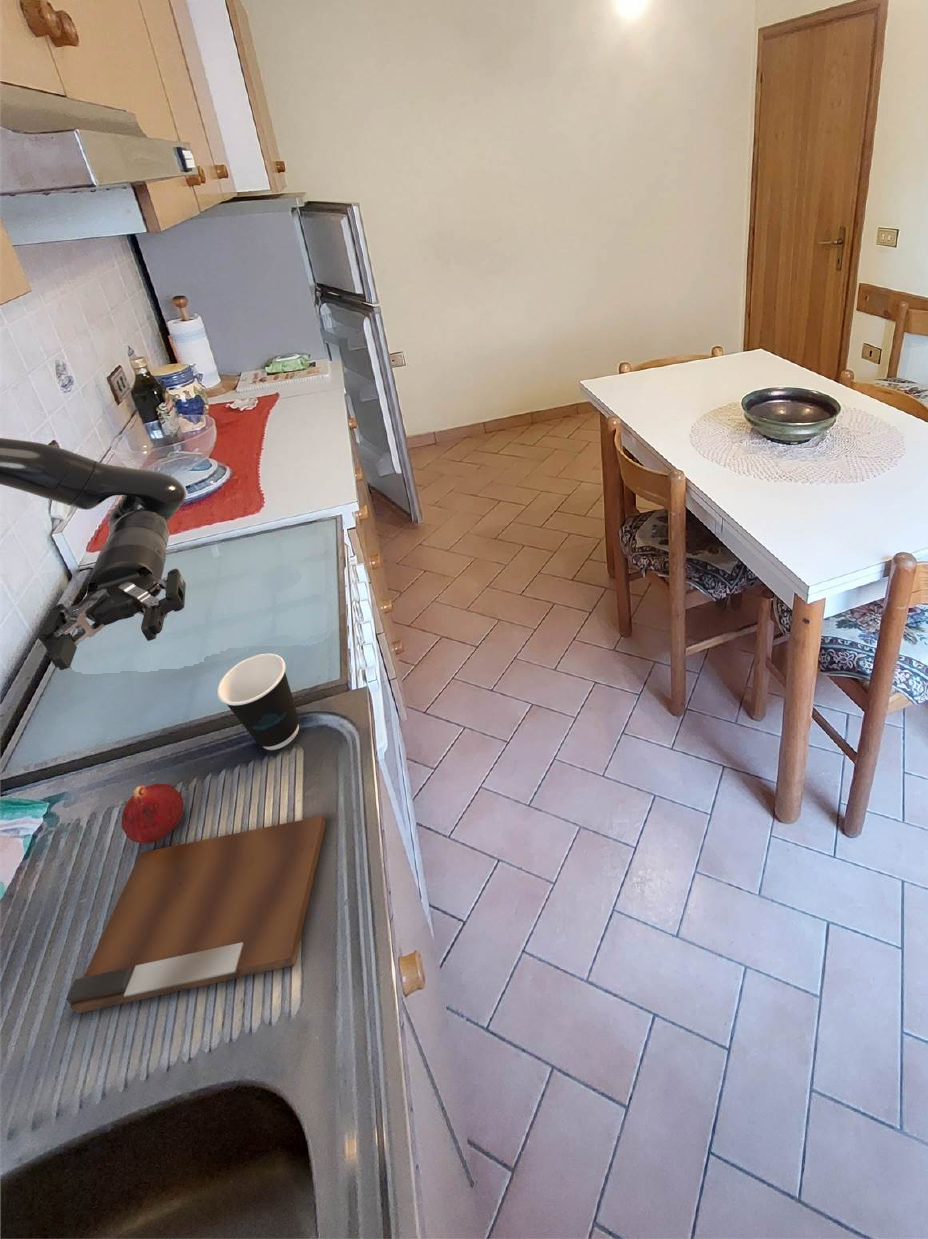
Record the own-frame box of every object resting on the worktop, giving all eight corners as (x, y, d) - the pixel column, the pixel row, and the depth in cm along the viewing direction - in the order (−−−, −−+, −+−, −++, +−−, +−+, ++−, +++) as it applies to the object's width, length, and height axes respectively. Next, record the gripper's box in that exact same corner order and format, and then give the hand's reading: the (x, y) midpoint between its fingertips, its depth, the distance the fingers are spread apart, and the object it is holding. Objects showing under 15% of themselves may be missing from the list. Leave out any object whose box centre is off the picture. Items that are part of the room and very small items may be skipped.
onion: (196, 836, 74) (167, 795, 70) (139, 868, 71) (106, 827, 68) (191, 798, 78) (164, 757, 75) (137, 826, 76) (106, 786, 72)
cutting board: (75, 1017, 60) (62, 1005, 59) (145, 860, 72) (136, 847, 71) (294, 968, 62) (286, 955, 61) (326, 823, 74) (319, 810, 73)
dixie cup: (278, 769, 81) (247, 711, 76) (234, 750, 84) (202, 693, 79) (323, 718, 87) (298, 661, 82) (281, 702, 90) (254, 646, 85)
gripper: (200, 570, 89) (188, 648, 76) (81, 607, 84) (46, 697, 71) (178, 527, 85) (161, 602, 72) (52, 563, 81) (10, 650, 68)
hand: (104, 649), depth 72 cm, fingers open, 8 cm apart
